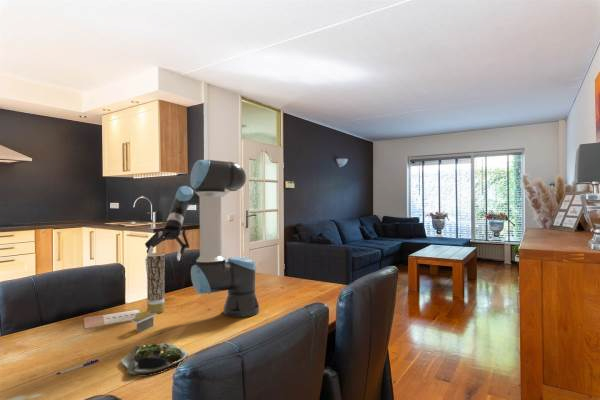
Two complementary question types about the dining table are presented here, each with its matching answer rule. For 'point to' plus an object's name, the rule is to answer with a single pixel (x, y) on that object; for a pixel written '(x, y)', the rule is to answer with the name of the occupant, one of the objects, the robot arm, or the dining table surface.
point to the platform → (144, 320)
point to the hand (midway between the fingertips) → (163, 259)
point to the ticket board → (110, 318)
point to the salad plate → (153, 358)
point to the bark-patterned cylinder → (155, 282)
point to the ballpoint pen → (79, 366)
